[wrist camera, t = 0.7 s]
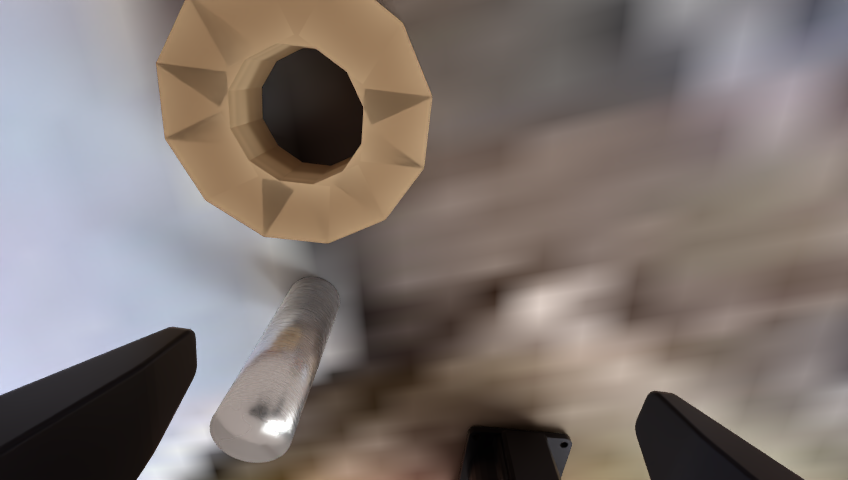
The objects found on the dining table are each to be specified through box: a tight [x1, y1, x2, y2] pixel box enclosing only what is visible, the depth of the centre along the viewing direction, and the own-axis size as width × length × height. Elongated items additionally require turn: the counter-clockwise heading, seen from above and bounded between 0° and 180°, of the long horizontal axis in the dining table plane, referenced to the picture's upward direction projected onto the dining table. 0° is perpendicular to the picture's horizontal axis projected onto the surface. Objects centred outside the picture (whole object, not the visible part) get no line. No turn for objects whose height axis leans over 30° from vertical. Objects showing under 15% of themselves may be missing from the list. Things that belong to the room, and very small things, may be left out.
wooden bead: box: [156, 0, 432, 243], centre depth 17 cm, size 10×10×4 cm
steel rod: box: [210, 277, 340, 463], centre depth 19 cm, size 3×3×9 cm
